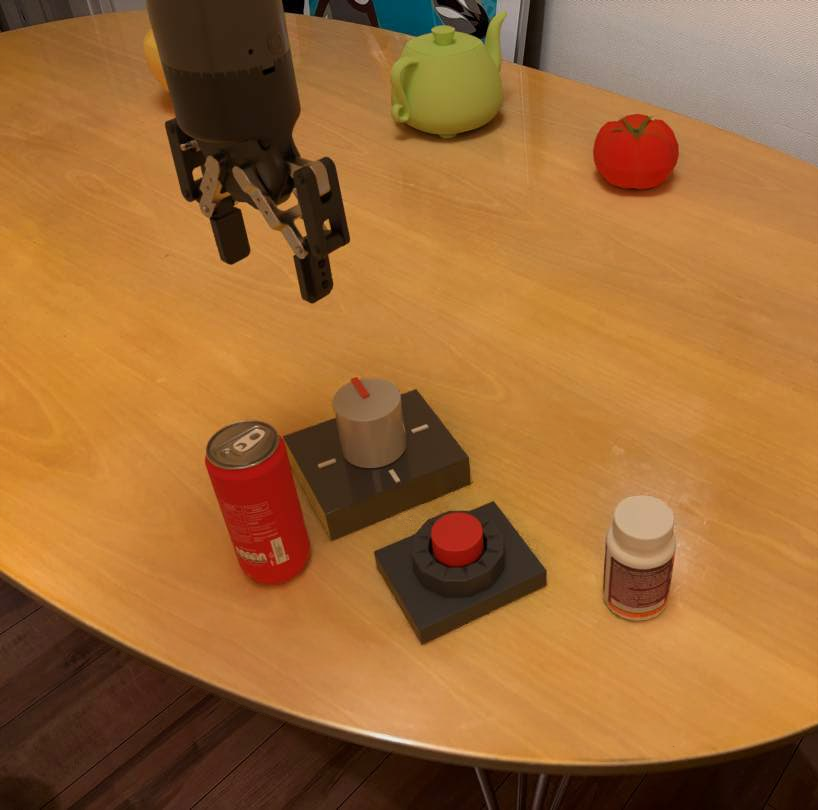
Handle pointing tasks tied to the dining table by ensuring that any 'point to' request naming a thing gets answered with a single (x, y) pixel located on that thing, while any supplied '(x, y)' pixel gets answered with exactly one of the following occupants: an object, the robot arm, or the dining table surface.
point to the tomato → (635, 152)
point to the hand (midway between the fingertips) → (276, 277)
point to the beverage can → (258, 500)
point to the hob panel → (377, 470)
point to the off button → (457, 539)
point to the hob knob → (370, 422)
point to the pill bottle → (639, 558)
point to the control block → (459, 575)
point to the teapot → (448, 80)
